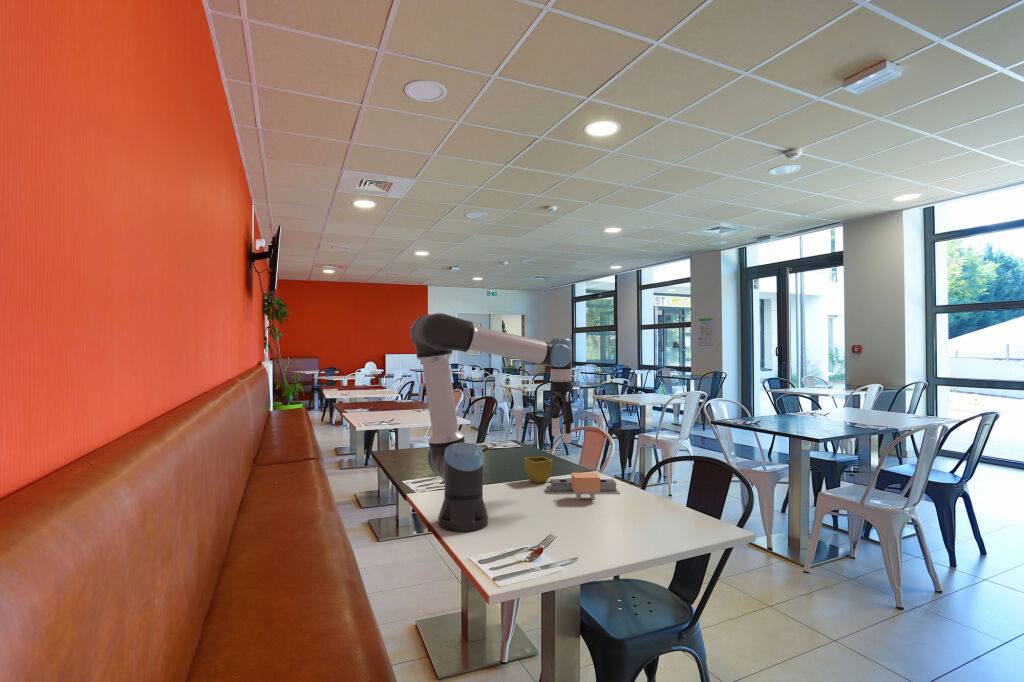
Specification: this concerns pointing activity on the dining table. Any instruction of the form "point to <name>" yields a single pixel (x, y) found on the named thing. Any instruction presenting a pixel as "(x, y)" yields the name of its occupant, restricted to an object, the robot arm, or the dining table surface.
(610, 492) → the rail
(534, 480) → the flower pot
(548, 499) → the dining table surface
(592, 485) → the orange tapered block
